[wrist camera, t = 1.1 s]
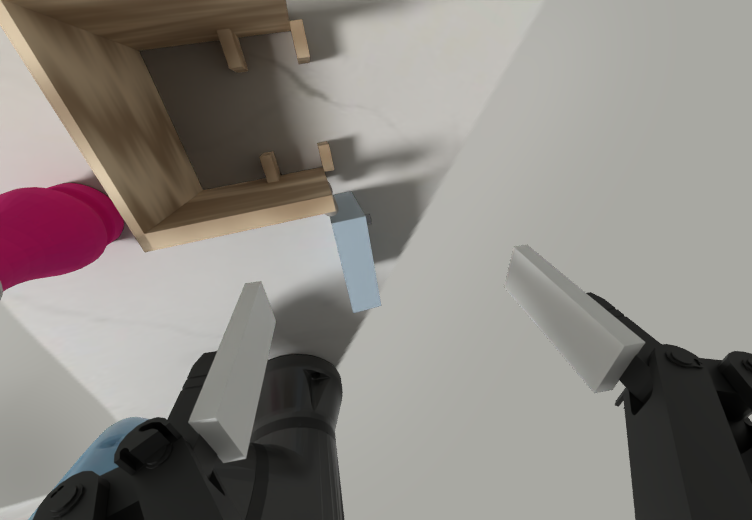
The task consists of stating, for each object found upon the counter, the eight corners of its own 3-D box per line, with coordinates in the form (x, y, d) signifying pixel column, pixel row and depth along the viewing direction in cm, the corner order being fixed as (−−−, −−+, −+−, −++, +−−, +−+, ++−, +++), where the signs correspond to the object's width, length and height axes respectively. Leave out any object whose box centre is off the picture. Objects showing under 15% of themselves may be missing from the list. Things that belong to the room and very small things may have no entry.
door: (371, 263, 37) (388, 303, 29) (343, 270, 36) (353, 313, 29) (357, 189, 32) (374, 214, 24) (325, 196, 31) (331, 223, 24)
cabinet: (336, 184, 31) (351, 219, 21) (206, 210, 29) (151, 263, 19) (298, 11, 24) (293, -68, 13) (122, 33, 22) (-41, -39, 12)
